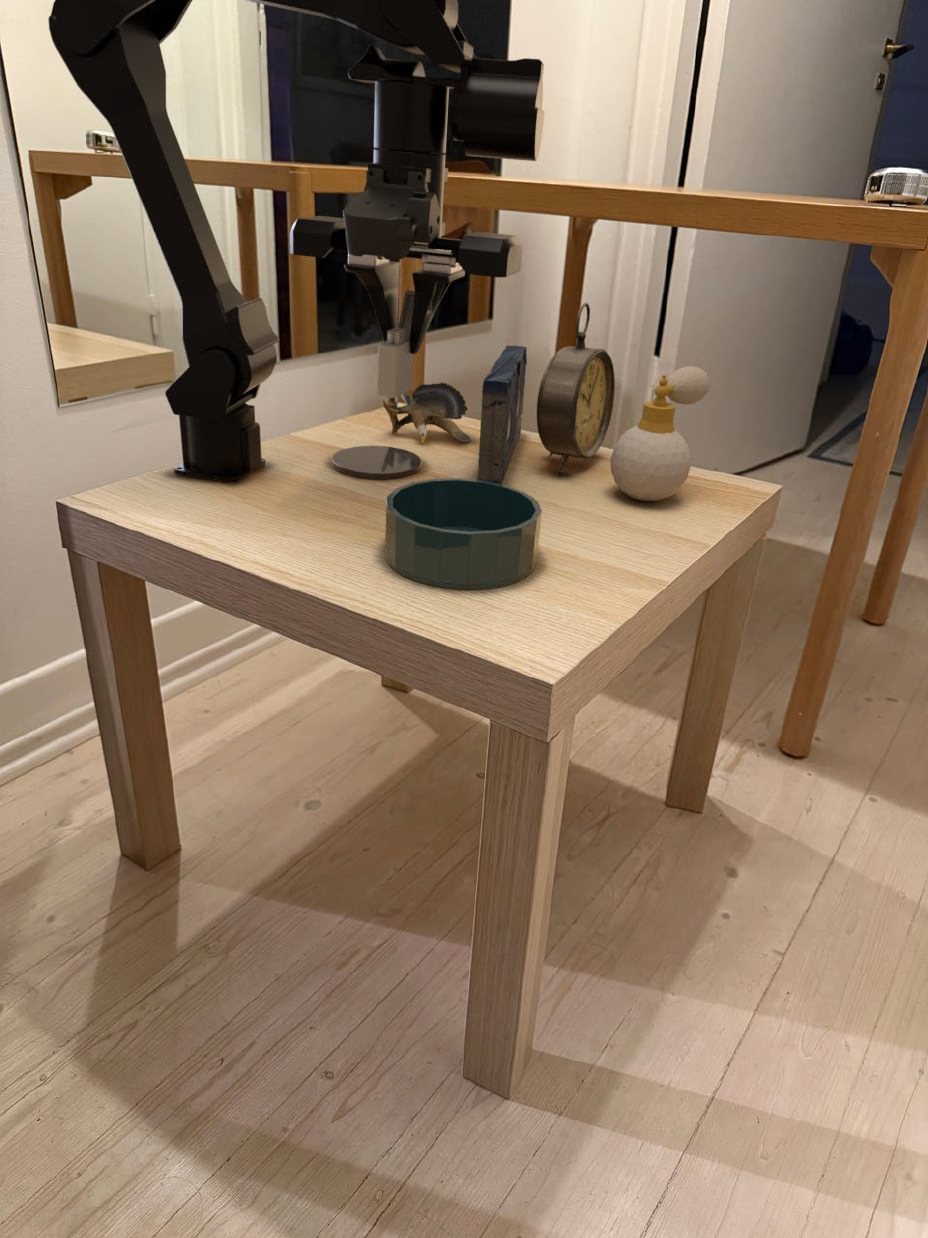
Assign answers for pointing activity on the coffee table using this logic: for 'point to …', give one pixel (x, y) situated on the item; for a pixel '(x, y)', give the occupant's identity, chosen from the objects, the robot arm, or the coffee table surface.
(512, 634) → the coffee table surface
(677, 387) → the perfume bottle
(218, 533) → the coffee table surface
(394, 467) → the coaster
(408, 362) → the lighter
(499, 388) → the vhs cassette tape
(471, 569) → the shallow faceted bowl
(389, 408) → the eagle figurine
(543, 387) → the alarm clock
